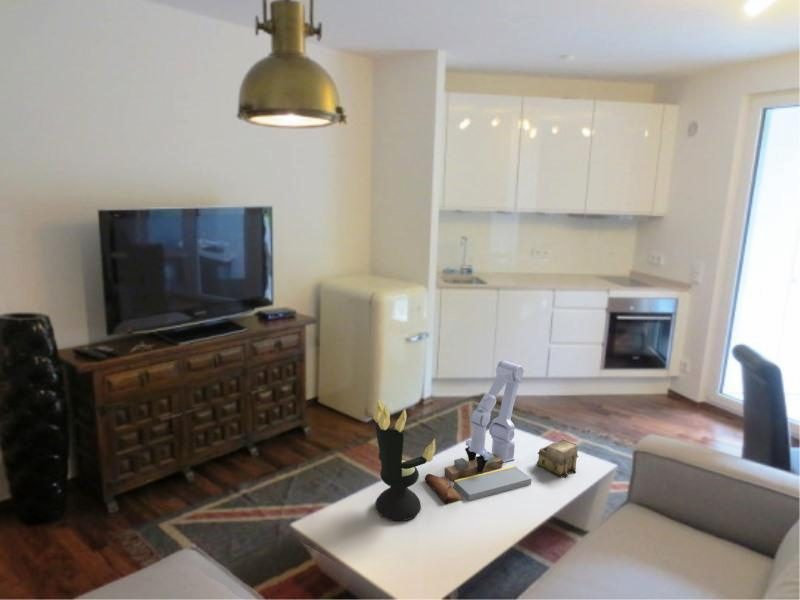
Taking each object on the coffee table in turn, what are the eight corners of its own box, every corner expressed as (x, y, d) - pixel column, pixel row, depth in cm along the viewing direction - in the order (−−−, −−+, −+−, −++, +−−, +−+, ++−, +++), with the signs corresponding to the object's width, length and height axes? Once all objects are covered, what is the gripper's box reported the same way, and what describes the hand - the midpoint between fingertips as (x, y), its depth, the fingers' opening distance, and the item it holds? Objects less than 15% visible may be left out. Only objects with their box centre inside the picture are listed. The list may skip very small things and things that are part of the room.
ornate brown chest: (582, 469, 238) (585, 445, 236) (563, 479, 229) (566, 454, 227) (552, 455, 249) (555, 432, 247) (533, 464, 240) (535, 440, 238)
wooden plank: (493, 462, 241) (494, 454, 240) (501, 468, 237) (502, 459, 236) (444, 476, 228) (444, 467, 228) (451, 482, 224) (452, 473, 223)
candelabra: (433, 507, 206) (440, 394, 196) (399, 537, 188) (405, 414, 178) (392, 490, 216) (396, 381, 206) (356, 517, 198) (359, 399, 188)
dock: (513, 471, 234) (514, 465, 233) (530, 484, 225) (531, 478, 224) (453, 486, 221) (454, 480, 220) (469, 500, 211) (469, 494, 211)
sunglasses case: (464, 500, 211) (458, 488, 209) (450, 511, 210) (443, 500, 207) (442, 476, 227) (435, 465, 225) (428, 487, 226) (422, 476, 223)
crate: (462, 463, 231) (462, 457, 231) (468, 468, 228) (468, 462, 227) (454, 465, 230) (454, 459, 229) (460, 470, 226) (460, 464, 225)
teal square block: (487, 456, 238) (487, 451, 237) (493, 461, 234) (494, 456, 233) (479, 458, 236) (480, 453, 235) (485, 463, 232) (486, 458, 232)
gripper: (460, 432, 234) (458, 461, 237) (480, 447, 222) (477, 478, 225) (474, 429, 237) (472, 458, 240) (494, 444, 225) (492, 474, 228)
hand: (475, 467), depth 233 cm, fingers closed on wooden plank, 6 cm apart
